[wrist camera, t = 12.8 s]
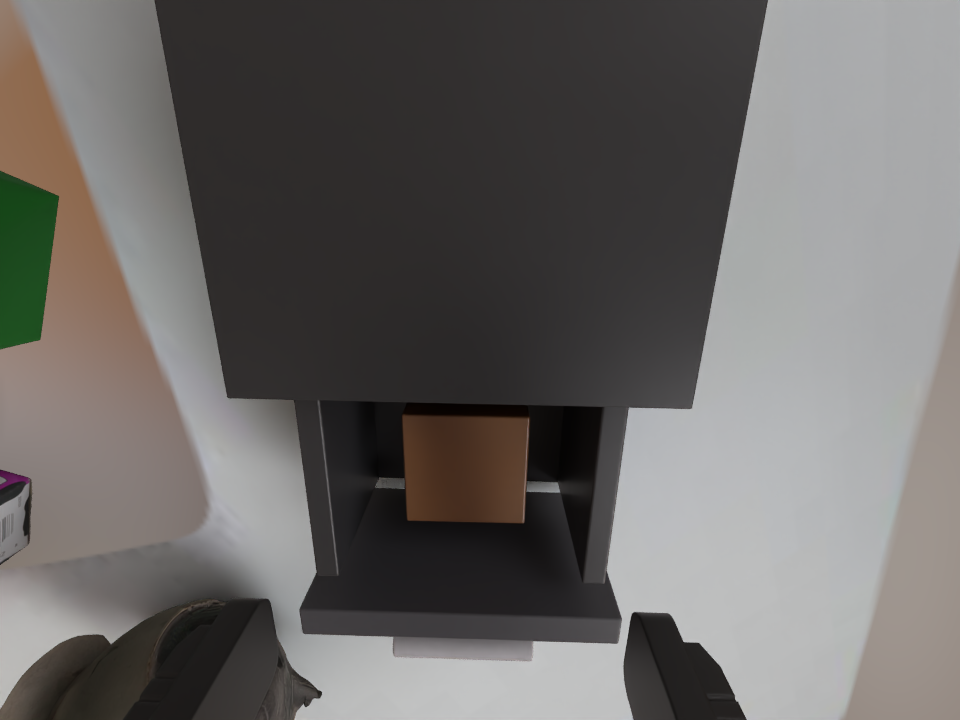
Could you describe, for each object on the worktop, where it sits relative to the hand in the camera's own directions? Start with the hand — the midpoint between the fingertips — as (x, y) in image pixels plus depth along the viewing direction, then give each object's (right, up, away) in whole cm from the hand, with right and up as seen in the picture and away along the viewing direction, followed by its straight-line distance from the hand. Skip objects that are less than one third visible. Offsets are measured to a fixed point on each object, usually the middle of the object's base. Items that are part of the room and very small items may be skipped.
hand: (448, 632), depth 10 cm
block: (0, +4, +10) cm, 11 cm away
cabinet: (0, +15, +8) cm, 17 cm away
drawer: (0, +3, +11) cm, 12 cm away
